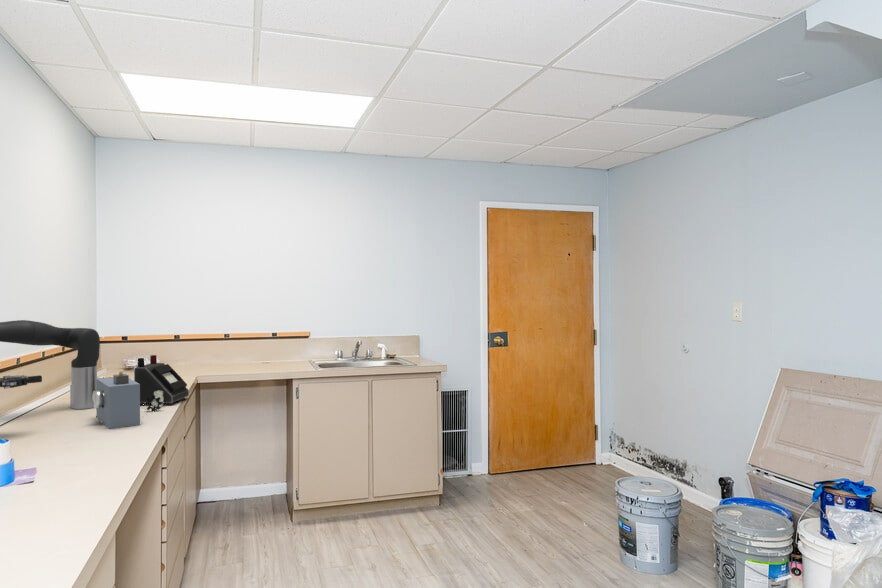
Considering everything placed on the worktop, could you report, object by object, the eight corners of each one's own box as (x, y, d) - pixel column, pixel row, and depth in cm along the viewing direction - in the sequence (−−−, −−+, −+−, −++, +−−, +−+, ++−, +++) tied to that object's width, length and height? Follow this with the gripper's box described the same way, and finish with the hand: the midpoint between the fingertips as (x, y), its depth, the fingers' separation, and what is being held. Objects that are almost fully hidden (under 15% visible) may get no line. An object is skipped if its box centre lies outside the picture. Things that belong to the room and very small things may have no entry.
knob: (92, 407, 217) (92, 389, 217) (120, 403, 223) (120, 387, 223) (95, 409, 212) (95, 392, 212) (124, 406, 218) (124, 389, 218)
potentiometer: (113, 382, 216) (113, 369, 216) (125, 381, 218) (125, 368, 218) (116, 384, 212) (116, 370, 212) (128, 383, 214) (128, 369, 214)
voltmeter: (172, 405, 248) (172, 359, 248) (134, 405, 248) (134, 359, 248) (189, 398, 264) (189, 354, 264) (153, 398, 264) (153, 354, 264)
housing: (96, 417, 226) (96, 378, 226) (125, 413, 232) (125, 376, 232) (109, 428, 207) (109, 386, 207) (140, 424, 214) (139, 383, 214)
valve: (151, 406, 247) (144, 412, 236) (151, 390, 247) (144, 396, 236) (168, 405, 249) (162, 411, 237) (168, 390, 249) (162, 395, 237)
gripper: (-21, 375, 188) (43, 370, 199) (-23, 371, 198) (39, 365, 209) (-21, 399, 188) (44, 391, 199) (-22, 393, 198) (39, 386, 209)
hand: (41, 378), depth 204 cm, fingers closed
